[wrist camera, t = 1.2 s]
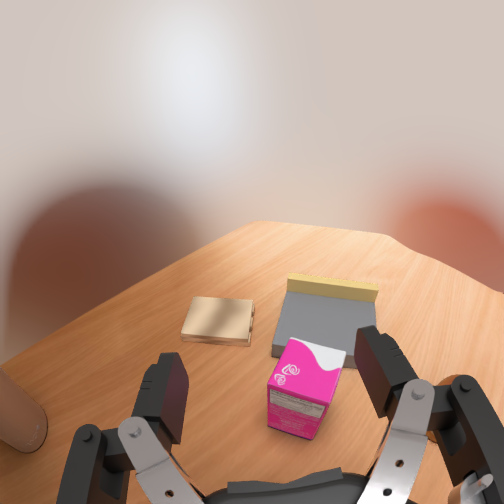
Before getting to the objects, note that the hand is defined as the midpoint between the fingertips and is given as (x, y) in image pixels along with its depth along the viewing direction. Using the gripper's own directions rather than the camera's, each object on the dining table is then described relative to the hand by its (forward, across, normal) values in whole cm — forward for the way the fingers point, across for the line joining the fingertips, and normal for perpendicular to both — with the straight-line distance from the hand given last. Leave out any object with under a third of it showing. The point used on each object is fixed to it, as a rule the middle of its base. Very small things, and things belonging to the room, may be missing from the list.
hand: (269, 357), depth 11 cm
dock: (+22, -9, +19) cm, 30 cm away
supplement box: (+10, -2, +21) cm, 23 cm away
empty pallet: (+25, +7, +17) cm, 31 cm away
